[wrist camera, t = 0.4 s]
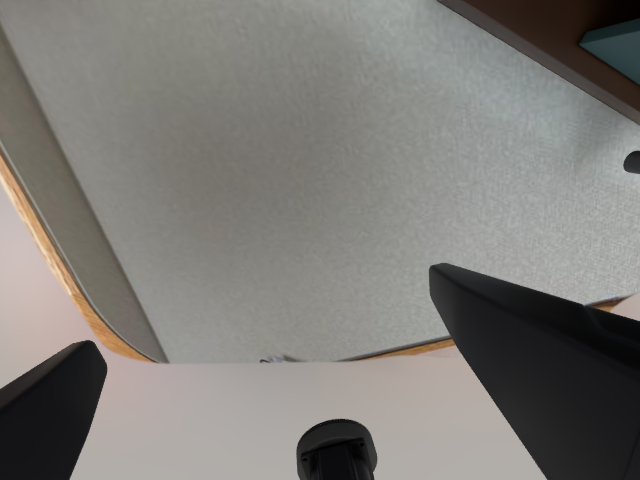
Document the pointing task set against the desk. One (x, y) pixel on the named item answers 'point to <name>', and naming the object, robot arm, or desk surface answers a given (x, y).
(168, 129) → the desk surface
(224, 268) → the desk surface
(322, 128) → the desk surface
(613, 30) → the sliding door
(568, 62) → the cabinet
